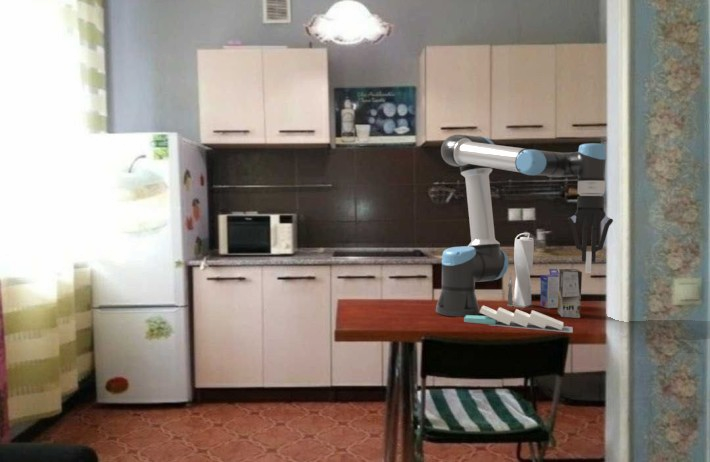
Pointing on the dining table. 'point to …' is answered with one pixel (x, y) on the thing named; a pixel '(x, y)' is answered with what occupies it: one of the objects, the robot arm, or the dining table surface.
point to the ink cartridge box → (549, 289)
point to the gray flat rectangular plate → (533, 327)
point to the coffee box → (569, 292)
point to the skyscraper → (522, 272)
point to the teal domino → (480, 319)
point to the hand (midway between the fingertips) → (588, 272)
